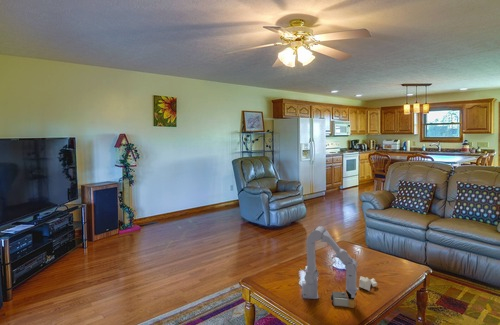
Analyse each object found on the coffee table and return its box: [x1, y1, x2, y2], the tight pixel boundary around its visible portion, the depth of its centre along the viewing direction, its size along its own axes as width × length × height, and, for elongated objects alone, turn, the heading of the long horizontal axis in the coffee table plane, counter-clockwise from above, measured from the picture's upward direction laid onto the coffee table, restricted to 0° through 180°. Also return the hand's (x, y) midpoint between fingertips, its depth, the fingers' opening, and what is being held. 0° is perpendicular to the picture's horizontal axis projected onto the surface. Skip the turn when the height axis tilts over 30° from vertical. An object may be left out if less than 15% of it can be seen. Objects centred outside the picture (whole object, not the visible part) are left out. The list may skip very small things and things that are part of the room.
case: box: [330, 291, 348, 302], centre depth 179 cm, size 9×6×5 cm, turn 84°
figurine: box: [358, 275, 378, 292], centre depth 196 cm, size 7×9×15 cm
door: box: [332, 297, 356, 309], centre depth 174 cm, size 12×1×5 cm, turn 79°
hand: (351, 303), depth 175 cm, fingers closed, pressing on case
